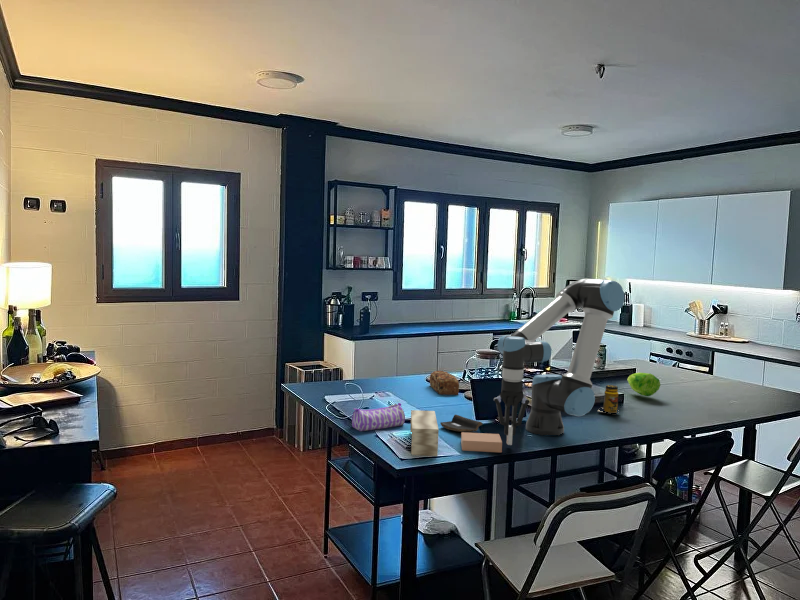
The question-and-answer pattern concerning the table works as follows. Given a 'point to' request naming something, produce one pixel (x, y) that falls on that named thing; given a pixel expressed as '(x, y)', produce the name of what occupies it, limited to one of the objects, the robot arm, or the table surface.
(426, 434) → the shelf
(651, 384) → the green mango
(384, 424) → the pencil case
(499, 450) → the tile
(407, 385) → the table surface
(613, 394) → the condiment
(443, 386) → the bread
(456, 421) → the pottery fragment
